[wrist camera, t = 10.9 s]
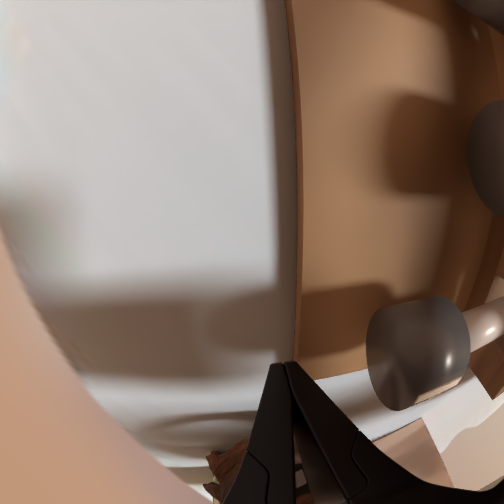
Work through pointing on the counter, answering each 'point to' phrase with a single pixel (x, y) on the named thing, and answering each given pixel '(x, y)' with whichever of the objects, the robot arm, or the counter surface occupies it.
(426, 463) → the soap dispenser
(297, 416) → the robot arm
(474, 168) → the knob middle
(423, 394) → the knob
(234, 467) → the pottery mug
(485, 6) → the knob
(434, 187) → the panel
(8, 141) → the counter surface
